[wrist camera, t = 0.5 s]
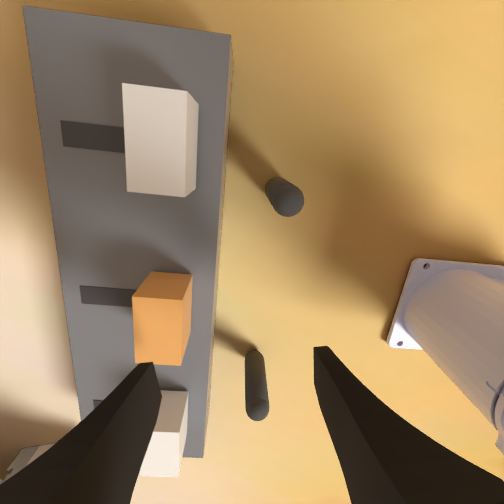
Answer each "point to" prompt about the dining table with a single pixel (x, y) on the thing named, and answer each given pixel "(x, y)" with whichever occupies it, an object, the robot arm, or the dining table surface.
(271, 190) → the cord posts
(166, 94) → the paddle
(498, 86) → the dining table surface
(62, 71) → the breaker panel
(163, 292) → the orange block
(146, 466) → the paddle
